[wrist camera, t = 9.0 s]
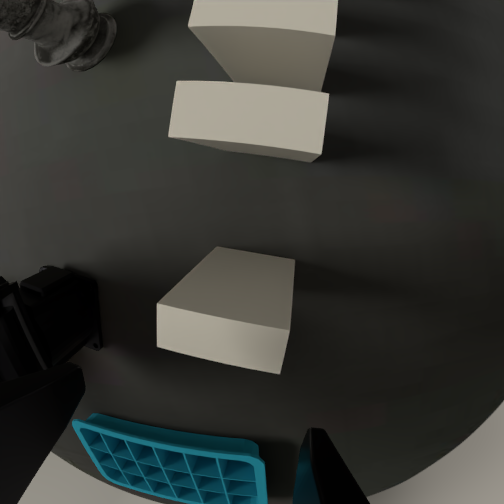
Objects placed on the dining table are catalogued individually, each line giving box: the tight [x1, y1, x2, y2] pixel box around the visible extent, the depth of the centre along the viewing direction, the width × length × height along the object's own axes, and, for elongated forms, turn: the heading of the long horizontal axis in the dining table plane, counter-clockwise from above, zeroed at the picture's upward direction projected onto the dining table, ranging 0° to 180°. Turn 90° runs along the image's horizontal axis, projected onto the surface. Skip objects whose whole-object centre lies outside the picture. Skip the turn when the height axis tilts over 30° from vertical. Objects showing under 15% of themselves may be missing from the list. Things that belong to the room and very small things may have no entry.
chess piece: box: [0, 0, 117, 72], centre depth 12 cm, size 6×6×12 cm
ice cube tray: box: [72, 413, 268, 504], centre depth 26 cm, size 12×20×3 cm, turn 94°
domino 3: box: [157, 246, 295, 374], centre depth 16 cm, size 2×5×9 cm, turn 82°
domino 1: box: [188, 0, 338, 92], centre depth 12 cm, size 2×5×9 cm, turn 82°
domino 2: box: [168, 81, 329, 163], centre depth 13 cm, size 2×5×9 cm, turn 82°
